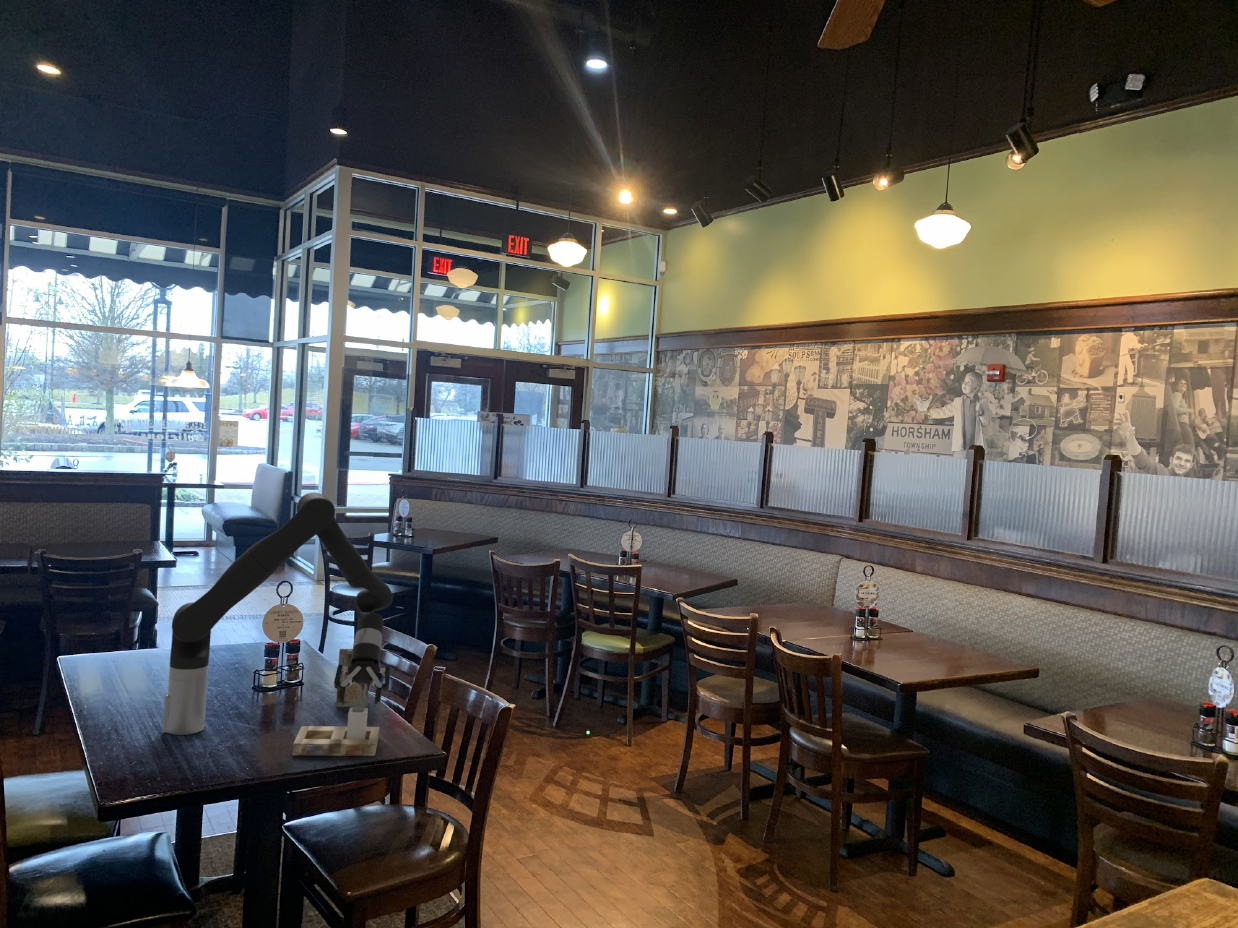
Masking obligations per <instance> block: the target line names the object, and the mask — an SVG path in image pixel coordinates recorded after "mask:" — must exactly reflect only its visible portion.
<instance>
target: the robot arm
mask: <svg viewBox="0 0 1238 928" xmlns="http://www.w3.org/2000/svg"><path fill="white" fill-rule="evenodd" d="M335 515H336V508H335V506H334V504H333V502H332V501H331V500H330V499H329V498H328V497H327V496H325V495H324V494H322V493H320V492H308V493H305V494H303V495H302V496H301V497H300V498H299V500H298V502H297V504H296V513H295V514H294V515H293V516H292V517H291V518H290V519H289V520H288V521H287V522H286V523H285V524H284V525H283V526H281V528H279V529H278V530H276V531H274V532H273V533H271V534H269V535H267V536H266V537H263V538H262V539H261V540H259V541H257V542H255V543H254V544H253V545H251V546H250V547H249V548H247V550H245V551H244V552H243V553H242V554H241V555H240V556H239V557H237V558H236V560H234V561H233V562H232V563H231V565H229V567H227V568H226V570H225V571H224V572H223V574H221V576H220V577H219V579H218V580H217V581H216V582H215V583H214V584H213V586H212V587H211V588H210V589H209V590H208V591H206V593H204V594H203V595H202V596H201V597H198V599H196V601H194V602H188V603H185V604H183V605H181V606H180V607H179V608H177V610H176V611H175V612H174V615H173V618H172V621H171V622H172V623H171V630H172V634H171V646H170V647H171V648H170V653H169V654H170V656H169V671H168V684H167V685H168V687H167V694H166V695H165V697H164V707H163V724H162V734H166V733H167V734H170V735H175V736H184V735H185V736H186V735H192V734H197V733H199V732H202V731H203V730H204V729H205V722H206V720H205V719H206V708H207V707H206V706H207V693H208V692H207V691H208V675H209V664H210V662H209V661H210V652H211V651H210V650H211V633H212V629H213V628H214V627H215V626H216V625H217V624H218V623H219V621H220V620H221V619H222V618H223V617H224V616H225V615H226V614H227V613H228V612H229V611H230V610H231V609H232V608H233V607H235V606H236V605H238V604H239V603H240V602H241V601H242V600H244V599H245V598H246V597H247V596H249V595H250V594H251V593H252V592H253V591H255V590H256V589H257V588H258V587H259V586H260V585H262V584H264V582H265V581H266V580H267V579H269V578H270V577H271V576H272V575H273V574H274V573H275V572H276V571H277V570H279V568H281V566H283V564H285V563H286V562H287V561H288V560H289V559H290V558H291V557H292V556H293V555H294V554H295V553H296V551H298V549H300V548H301V547H302V546H303V545H305V544H306V543H307V542H308V541H310V540H311V539H312V538H313V537H315V536H317V537H318V539H319V540H320V541H321V542H322V544H323V546H324V547H325V549H326V550H327V552H328V554H329V555H330V558H331V559H332V560H333V563H334V564H335V565H336V567H337V568H338V570H339V573H341V576H343V578H344V580H345V581H346V583H348V585H349V586H350V588H354V589H356V588H357V589H360V588H361V589H362V590H360V591H359V592H358V593H357V594H356V597H355V598H354V599H355V600H354V607H355V611H356V617H357V618H356V619H357V625H356V632H355V637H354V640H353V646H352V649H353V651H352V657H351V663H350V665H349V667H344V666H342V665H341V664H339V663H338V665H337V669H336V672H335V676H334V680H333V685H334V689H336V690H337V688H338V689H340V693H339V701H341V703H344V701H345V694H346V689H347V688H348V687H349V686H351V685H352V684H353V683H354V682H356V683H365V684H368V683H369V684H370V683H371V685H372V687H374V688H375V693H374V694H375V695H374V696H375V697H374V705H378V703H380V702H381V701H382V692H384V691H389V689H390V682H391V681H390V679H391V678H390V677H391V667H390V665H387V666H385V667H380V662H381V661H380V660H381V652H382V644H383V629H384V618H383V616H382V615H381V614H379V613H378V612H377V611H380V610H383V609H386V608H388V607H390V606H391V605H392V603H393V600H394V596H393V592H392V590H391V588H390V586H388V584H387V583H386V582H385V581H384V580H382V579H381V578H380V577H378V575H376V573H374V572H373V571H372V570H371V569H370V568H369V566H368V565H367V563H366V561H365V559H364V558H363V556H362V555H361V553H359V551H358V550H357V549H356V547H355V546H354V545H353V544H352V542H351V541H350V540H349V538H348V537H347V536H346V535H345V533H344V531H343V530H342V528H341V527H340V526H339V523H338V521H337V519H336V517H335ZM363 588H364V589H363ZM345 672H348V673H349V676H347V678H346V679H345V680H344V681H343V682H342V683H341V682H340V680H341V676H342V675H344V674H345ZM380 673H381V675H382V676H383V677H384V682H383V683H381V681H380V680H379V678H378V676H379V675H380Z"/></svg>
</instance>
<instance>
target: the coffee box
mask: <svg viewBox="0 0 1238 928" xmlns="http://www.w3.org/2000/svg"><path fill="white" fill-rule="evenodd" d="M352 651H353V648H339V651H338V653H339V654H338V665H339V664H341V665H342V666H344V667H349V665H350V663H351V657H352ZM347 676H349V673H348V672H345V674H344V675H342V676H341V680H340V682H341V683H342V682H343V681H344V680H345V679H346V678H347ZM369 685H370V683H368V684H365V683H356V682H354V683H353V684H352V685H351V686H349V687H348V688H347V689H346V694H345V701H344V703H341V701H339V693H340V689H338V688H337V689H336V704H335V706H336V708H353V706H361V707H364V708H368V704H369V703H368V701H369V699H368V698H369Z"/></svg>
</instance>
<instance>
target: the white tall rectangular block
mask: <svg viewBox="0 0 1238 928" xmlns="http://www.w3.org/2000/svg"><path fill="white" fill-rule="evenodd" d="M368 712H369V707H361V706H353V707H349V710H348V713H347V726H346V727H347V739H362V740H366V728H367V727H368V726H367V725H368Z"/></svg>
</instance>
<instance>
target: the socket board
mask: <svg viewBox="0 0 1238 928" xmlns="http://www.w3.org/2000/svg"><path fill="white" fill-rule="evenodd" d="M379 737H380V726H367V728H366V740H362V739H347V726H339V725H338V726H336V725H335V726H329V725H328V726H320V725H315V726H314V725H302V726H301V727H300V729H299V730H298V733H297V735H296V738H295V740H294V741H293V745H292V746H293V747H292V756H335V757H337V756H338V757H339V756H340V757H341V756H346V757H347V756H349V757H350V756H358V757H359V756H360V757H361V756H365V757H368V756H370V757H371V756H372V757H374V756H376V752H377V748H378V742H379Z"/></svg>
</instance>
